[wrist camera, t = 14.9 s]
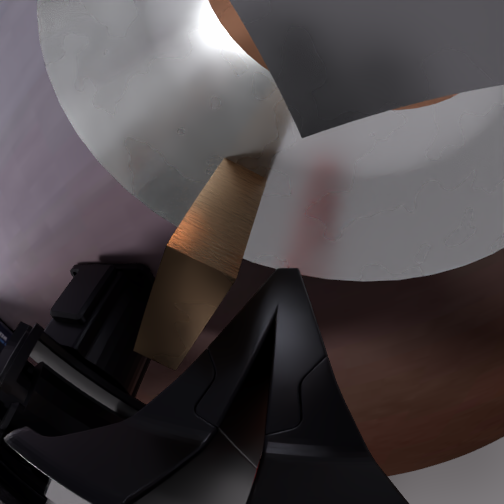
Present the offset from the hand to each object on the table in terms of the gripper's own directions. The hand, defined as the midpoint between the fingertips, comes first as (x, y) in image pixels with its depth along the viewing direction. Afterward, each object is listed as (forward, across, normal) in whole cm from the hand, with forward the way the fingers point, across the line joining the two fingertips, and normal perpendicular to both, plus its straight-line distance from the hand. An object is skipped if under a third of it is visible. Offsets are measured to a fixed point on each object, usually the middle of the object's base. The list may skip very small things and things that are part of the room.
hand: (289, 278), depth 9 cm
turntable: (+5, -3, -9) cm, 10 cm away
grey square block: (+2, -3, -9) cm, 9 cm away
